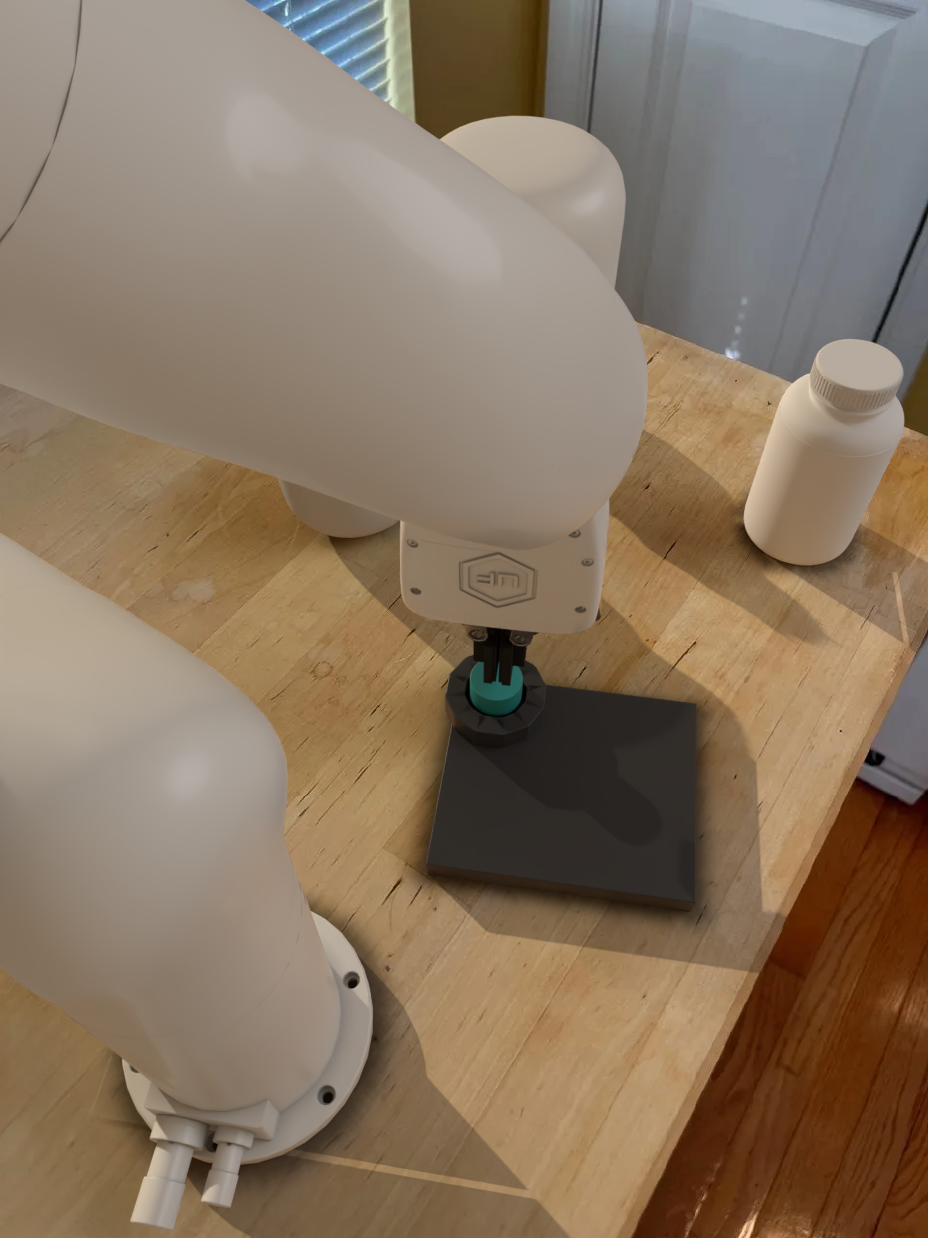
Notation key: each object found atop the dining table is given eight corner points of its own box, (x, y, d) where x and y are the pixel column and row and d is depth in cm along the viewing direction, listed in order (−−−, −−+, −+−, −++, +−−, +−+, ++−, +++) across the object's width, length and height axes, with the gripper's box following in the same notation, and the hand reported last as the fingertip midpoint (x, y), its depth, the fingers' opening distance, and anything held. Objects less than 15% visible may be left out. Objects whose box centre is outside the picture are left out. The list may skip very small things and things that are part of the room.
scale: (691, 912, 52) (702, 892, 50) (417, 872, 54) (414, 851, 51) (692, 701, 61) (701, 675, 58) (455, 671, 62) (454, 645, 60)
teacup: (405, 569, 68) (399, 489, 61) (262, 547, 69) (241, 466, 63) (446, 441, 76) (444, 359, 70) (317, 423, 77) (304, 341, 71)
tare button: (518, 719, 57) (519, 703, 55) (466, 712, 57) (466, 697, 56) (524, 676, 59) (525, 659, 57) (473, 669, 59) (474, 653, 58)
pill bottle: (718, 525, 70) (770, 359, 58) (784, 475, 73) (845, 308, 61) (806, 587, 67) (881, 423, 55) (871, 531, 70) (955, 365, 58)
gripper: (322, 473, 40) (363, 702, 54) (679, 509, 38) (622, 735, 53) (361, 361, 44) (389, 601, 59) (682, 390, 43) (629, 628, 57)
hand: (500, 664), depth 56 cm, fingers closed
